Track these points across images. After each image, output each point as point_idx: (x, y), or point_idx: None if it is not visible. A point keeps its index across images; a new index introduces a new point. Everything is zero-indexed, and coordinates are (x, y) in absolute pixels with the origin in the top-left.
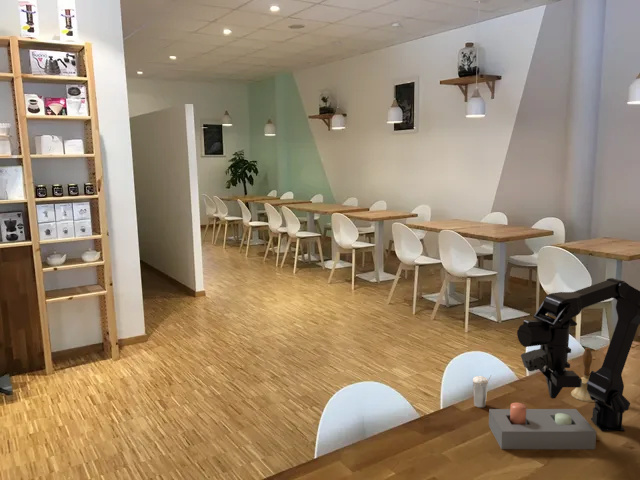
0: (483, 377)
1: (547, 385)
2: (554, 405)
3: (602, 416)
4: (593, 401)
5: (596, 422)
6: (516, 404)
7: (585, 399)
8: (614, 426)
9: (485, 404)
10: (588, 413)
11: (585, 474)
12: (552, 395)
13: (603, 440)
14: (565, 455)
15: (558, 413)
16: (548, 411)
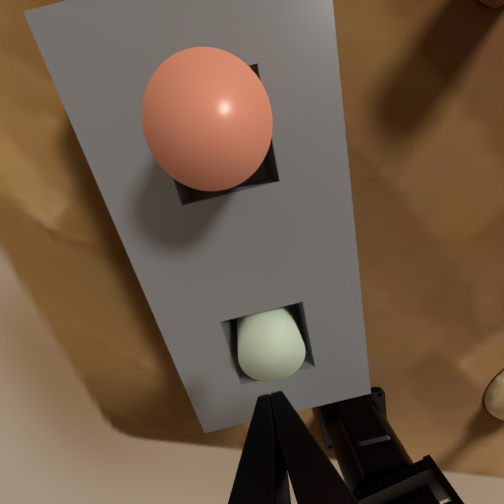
0: None
1: (338, 481)
2: (472, 303)
3: (348, 441)
4: (486, 403)
5: (341, 406)
6: (232, 109)
7: (497, 389)
8: (329, 438)
9: (498, 5)
10: (417, 384)
11: (55, 339)
12: (252, 429)
13: None
14: (145, 301)
15: (300, 341)
16: (337, 299)
